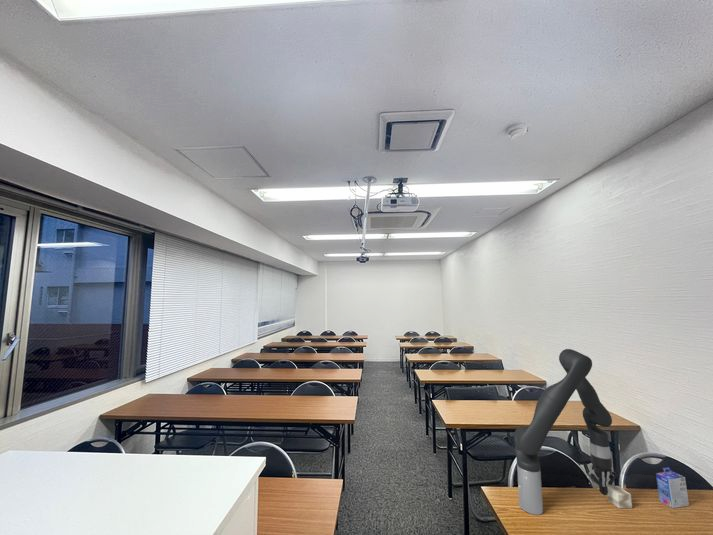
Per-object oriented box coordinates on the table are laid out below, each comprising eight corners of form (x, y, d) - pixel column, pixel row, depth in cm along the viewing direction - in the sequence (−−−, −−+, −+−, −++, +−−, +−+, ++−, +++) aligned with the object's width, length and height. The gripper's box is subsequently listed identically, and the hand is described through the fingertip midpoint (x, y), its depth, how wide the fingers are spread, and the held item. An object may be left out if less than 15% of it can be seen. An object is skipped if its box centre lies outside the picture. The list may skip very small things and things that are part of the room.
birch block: (619, 509, 130) (618, 494, 131) (607, 500, 136) (605, 486, 137) (632, 508, 131) (630, 494, 131) (619, 499, 136) (618, 485, 137)
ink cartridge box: (674, 498, 138) (670, 465, 139) (689, 506, 132) (685, 471, 134) (658, 500, 136) (654, 467, 137) (672, 508, 130) (668, 474, 132)
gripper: (593, 458, 131) (597, 500, 129) (621, 457, 132) (625, 499, 130) (580, 450, 139) (583, 489, 137) (606, 449, 140) (610, 488, 138)
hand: (604, 494), depth 133 cm, fingers closed
